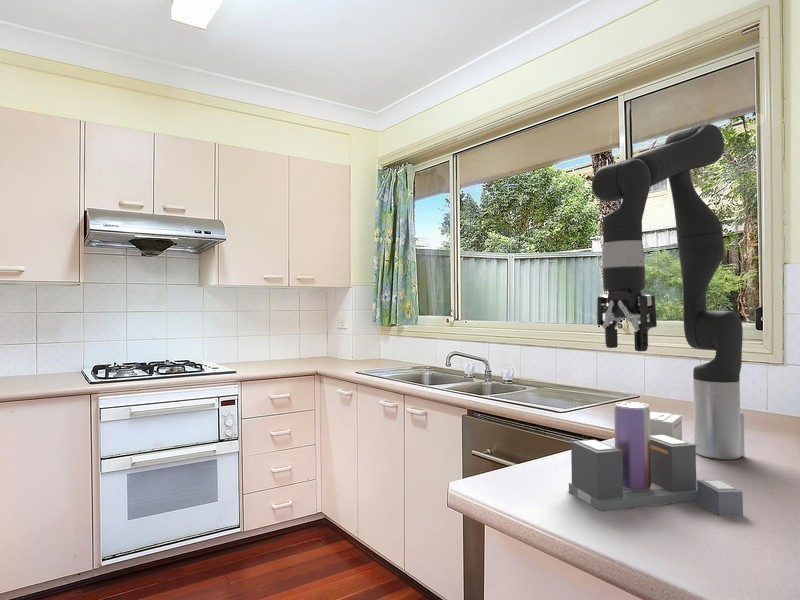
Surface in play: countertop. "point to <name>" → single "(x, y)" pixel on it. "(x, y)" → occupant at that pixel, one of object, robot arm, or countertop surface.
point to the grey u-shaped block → (603, 474)
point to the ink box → (666, 424)
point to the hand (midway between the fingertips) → (625, 349)
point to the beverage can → (634, 444)
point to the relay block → (720, 497)
